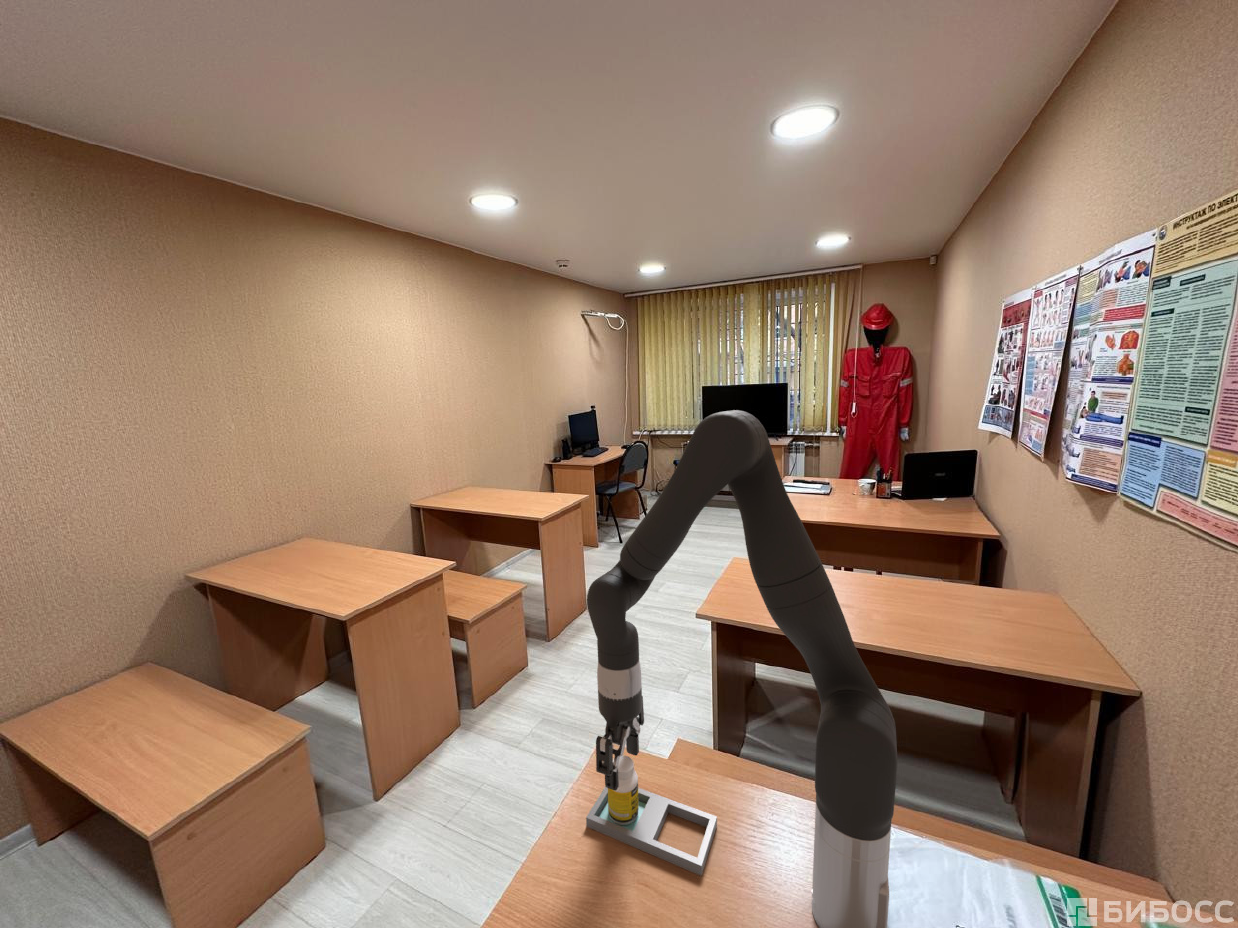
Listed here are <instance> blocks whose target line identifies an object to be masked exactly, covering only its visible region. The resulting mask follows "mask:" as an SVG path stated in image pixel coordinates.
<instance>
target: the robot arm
mask: <svg viewBox="0 0 1238 928" xmlns="http://www.w3.org/2000/svg"><path fill="white" fill-rule="evenodd" d="M692 433H693V434H692V435H691V437H690V438H689V441H688V442H687V445H686V447H685V448H684V451H683V453H682V454H681V457H680V459H679V461H678V463H677V465H676V468H675V470H674V471H673V473H672V475H671V476H670V477H669V478H670V479H669V480H668V482H667V484H666V485H665V487H664V489H663V490H662V492H661V493H660V495H659V496H658V498H657V499H656V501H655V502H654V503H653V505H652V506H651V507H650V509H648V511H647V513H646V515H645V516H644V517H643V518H642V520H641V521H640V522H639V524H638V525H637V526H636V528H635V529H634V530H633V532H632V533H631V535H630V536H629V538H628V539H627V540H626V541H625V543H624V545H623V546H622V548H621V550H620V554H619V560H618V561H617V563H616V564H615V565H614V566H613V567H612V568H611V569H610V570H608V571H607V572H605V573H604V574H602V575H601V576H599V577H597V578H596V579H594V580H593V581H592V583H591V584H590V585H589V588H588V591H587V595H586V605H587V611H588V615H589V619H590V621H591V625H592V628H593V630H594V634H595V636H596V645H597V648H596V649H597V668H596V669H597V670H596V671H597V672H596V673H597V674H596V677H597V678H596V679H597V680H596V681H597V695H598V696H597V697H598V698H597V701H598V702H597V703H598V711H599V714H600V715H601V716H602V717H603V719H604V720H605V723H606V724H605V729H604V730H605V731H604V732H605V733H604V735H603V736H600V735H598V736H597V737H596V739H595V766H596V767H595V768H596V770H595V771H596V772H597V773H599V774H601V775H604V785H605V786H606V787H607V788H609V789H612V790H615V791H616V790H617V788H618V787H619V781H618V764H619V759H620V756H622V755H624V753H625V748H626V752H627V753H628V754H630V755H632V756H638V754H639V753H640V743H639V742H640V741H639V740H640V739H639V737H640V734H641V727H640V726H643V725H644V723H645V711H644V697H643V693H642V692H643V690H642V689H643V686H642V668H641V663H640V661H641V660H640V644H639V641H640V640H639V633H638V629H637V628H636V626H635V625H634V624H633V623H632V622H630V621H628V620H626V619H627V617H626V615H627V612H628V611H629V610H630V609H631V608H632V607H634V606H635V605H636V604H637V603H638V602H639V601H640V600H641V599H642V598H643V596H644V595H646V593H647V591H648V590H649V587H650V586H651V584H653V581H654V579H655V578H656V576H657V575H658V574H659V573H660V572H661V570H662V569H663V568H664V567H665V566H666V564H667V563H668V562H669V561H670V560H671V558H672V557H673V556H674V555H675V553H676V551H677V550H678V549H679V548H680V546H681V544H682V543H683V542H684V540H685V539H686V537H687V535H688V533H689V531H690V529H691V527H692V525H693V524H694V522H695V520H696V519H697V517H698V516H699V514H700V513H701V512H702V510H703V509H704V508H705V507H706V506H707V505H708V503H709V502H710V501H711V500H712V499H713V498H714V497H715V496H716V495H718V494H719V492H721V491H722V490H723V489H724V488H725V487H726V486H727V485H728V487H729V490H730V491H731V493H732V496H733V498H734V500H735V502H736V505H737V507H738V509H739V513H740V517H741V520H742V521H741V522H742V526H743V527H742V529H743V534H744V541H745V548H746V553H747V558H748V562H749V566H750V569H751V573H752V577H753V580H754V582H755V584H756V586H757V588H758V591H759V593H760V595H761V598H762V601H763V602H764V605H765V607H766V609H767V612H768V614H769V616H770V617H771V618H772V620H773V621H774V623H775V624H776V626H777V627H778V629H779V630H780V631H781V632H782V633H783V634H784V636H786V638H787V639H788V640H789V642H791V643H792V644H793V646H794V647H795V649H797V650H798V651H799V653H800V655H801V656H802V658H803V659H804V661H805V663H806V666H807V668H808V669H809V672H810V675H811V678H812V680H813V683H814V685H815V689H816V692H817V695H818V698H819V702H820V703H819V704H820V716H819V720H818V725H817V726H818V727H817V731H816V740H815V758H814V759H815V768H814V773H815V774H814V789H815V812H814V813H815V815H814V817H815V818H814V837H813V838H814V840H813V857H812V858H813V861H812V864H813V865H812V886H811V911H812V913H813V914H812V915H813V917H814V920H815V922H816V923H815V924H816V925H817V927H818V928H888V921H889V905H890V904H889V903H890V885H889V867H890V866H889V863H890V848H891V834H892V833H891V832H892V820H893V817H894V812H895V799H896V788H897V772H898V751H897V750H898V749H897V747H898V746H897V730H896V729H897V728H896V722H895V719H894V717H893V712H892V711H891V708H890V706H889V705H888V703H887V701H886V699H885V698H884V696H883V694H882V693H881V690H880V689H879V687H878V685H877V684H876V682H875V680H874V679H873V677H872V675H871V673H870V671H869V670H868V668H867V666H866V665H865V663H864V661H863V660H862V657H861V656H860V654H859V651H858V649H857V647H856V645H855V642H854V640H853V638H852V635H851V632H850V629H849V626H848V624H847V620H846V618H845V616H844V613H843V611H842V608H841V605H840V602H839V600H838V597H837V595H836V593H835V590H834V588H833V586H832V582H831V580H830V579H829V576H828V574H827V572H826V569H825V567H824V565H823V562H822V560H821V558H820V556H819V555H818V553H817V550H816V548H815V546H814V544H813V541H812V540H811V538H810V536H809V534H808V532H807V530H806V528H805V526H804V524H803V521H802V519H801V518H800V515H799V514H798V512H797V510H796V508H795V507H794V505H793V503H792V501H791V499H790V497H789V495H788V493H787V490H786V488H785V485H784V483H783V480H782V477H781V474H780V470H779V468H778V464H777V461H776V458H775V455H774V451H773V448H772V446H771V442H770V439H769V435H768V433H767V430H766V429H765V427H764V425H763V424H762V423H761V422H760V420H759V419H758V418H757V417H755V416H754V415H753V414H751V413H749V412H747V411H744V410H739V409H736V410H735V409H733V410H726V411H719V412H715V413H712V414H710V415H708V416H706V417H704V419H702V420H701V421H700V422H699V423H698V424H697V426H696V427H695V429H694V431H693V432H692ZM613 744H614V745H617V746H618V748H614V747H615V746H614V745H613ZM613 756H614V757H613ZM613 759H614V762H613ZM605 786H604V787H605Z"/></svg>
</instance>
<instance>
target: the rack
mask: <svg viewBox="0 0 1238 928" xmlns="http://www.w3.org/2000/svg"><path fill="white" fill-rule="evenodd" d="M668 814H671V815H673V816H676V817H679V818H682V819H683V820H686V821H690V822H691V823H694V824H697V825H700V826H702V827H705V828H706V830H705V832H704V833H705V834H704V836H703V838H702V841H701V845H700V849H699V850H698V851H699V852H698V854H697V856H694V855H692V854H689V853H687V852H684V851H683V850H680V849H678V848H675V847H673V846H670V845H668V844H665V843H664V842H663V843H662V842H660V841H658V838H659V835H660V833H661V831H662V829H663V826H664V824H665V821H666V819H667V817H668ZM585 819H586V820H585V823H586V824H585V825H586V828H589V829H590V830H593V831H596V832H598V833H600V834H602V835H605V836H606V837H610V838H612V839H614V840H617V841H619V842H621V843H623V844H626V845H629V846H631V847H633V848H636V849H638V850H640V851H643V852H644V853H647V854H650V855H651V856H654V857H656V858H659V859H661V860H663V861H665V862H668V863H670V864H673V865H675V866H677V867H679V868H682V869H684V870H687V871H689V872H691V873H694V874H696V875H698V876H700V877H702V876H703V872H704V871H705V867H706V863H707V860H708V856H709V852H710V850H711V848H712V847H711V846H712V844H713V840H714V836H715V833H716V830H717V827H718V816H717V815H714V814H711V813H708V812H705V811H703V810H700V809H697V808H694V807H693V806H690V805H686V804H684V803H681V802H679V801H675V800H673V799H670V798H668V797H665V796H662V795H659V794H656V793H655V792H652V791H648V790H646V789H643V788H640V787H638V816H637V818H636V819H635V821H633V822H632V823H630V824H628V825H619V824H616V823H614V822H613V821H612V820H611V818H610V817H609V813H608V788H607V787H606V786H604V788H603V790H602V791H601V792H600V794H599V796H598V798H597V799H596V801H595V802H594V803H593V806H592V807H591V809H590V811H588V814H587V815H586V817H585Z"/></svg>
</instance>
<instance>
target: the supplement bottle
mask: <svg viewBox="0 0 1238 928" xmlns="http://www.w3.org/2000/svg"><path fill="white" fill-rule="evenodd" d="M613 762H614V758H613ZM618 781H619V787H618V788H617V790H616V791H615V790H612V789H609V788H608V802H607V803H608V813H609V817H610V818H611V820H612V821H613V822H614V823H616V824H619V825H628V824H630V823H632V822H633V821H635V819H636V818H637V816H638V788H639V776H638V773H637V772H636V770H635V763H634V760H633V758H632V757H630V756H627V755H624V754H623V755H622V756H620V759H619V764H618Z"/></svg>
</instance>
